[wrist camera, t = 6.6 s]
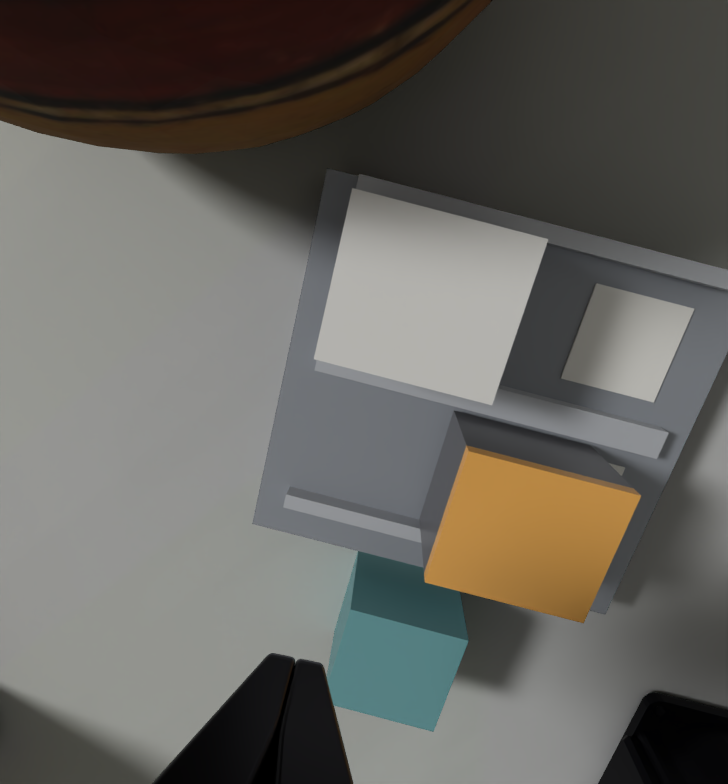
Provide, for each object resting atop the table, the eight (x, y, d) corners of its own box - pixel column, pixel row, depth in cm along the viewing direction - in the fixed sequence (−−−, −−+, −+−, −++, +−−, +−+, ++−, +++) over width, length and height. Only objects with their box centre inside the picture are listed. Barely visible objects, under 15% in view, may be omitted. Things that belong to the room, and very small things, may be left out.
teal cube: (456, 574, 20) (468, 641, 16) (427, 654, 21) (433, 731, 17) (358, 548, 20) (350, 609, 16) (334, 629, 21) (322, 702, 17)
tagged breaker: (590, 445, 16) (641, 495, 13) (547, 551, 17) (583, 623, 14) (453, 410, 16) (468, 451, 12) (419, 518, 17) (424, 582, 14)
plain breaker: (514, 242, 14) (548, 239, 11) (471, 372, 15) (492, 405, 12) (362, 203, 14) (352, 188, 11) (331, 336, 15) (313, 359, 12)
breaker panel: (727, 278, 16) (775, 282, 14) (589, 587, 19) (612, 626, 17) (333, 175, 16) (324, 164, 14) (263, 503, 19) (247, 532, 17)
